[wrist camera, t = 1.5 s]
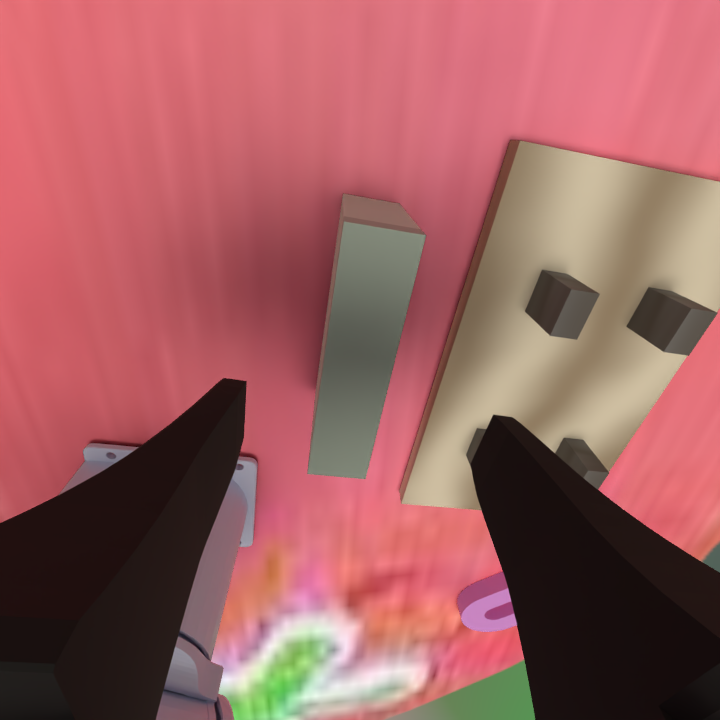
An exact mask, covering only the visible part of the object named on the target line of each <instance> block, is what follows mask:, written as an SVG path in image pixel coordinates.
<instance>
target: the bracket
mask: <svg viewBox="0 0 720 720" xmlns="http://www.w3.org/2000/svg"><path fill="white" fill-rule="evenodd" d="M457 604H458V608H459V612H460V616H461V620H462V622H463V624H464V625H465V626H466V627H468V628H470V629H472V630H476V631H482V632H492V631H499V630H504V629H507V628H510V627H513V626H516V625H517V623H516V618H515V614H514V610H513V606H512V602H511V598H510V594H509V590H508V586H507V583H506V579H505V576H504V573H503V572H500V573H498V574H495V575H493V576H491V577H488V578H486V579H483V580H481V581H478V582H476V583H474V584H471V585H470V586H468V587H467V588H465V589H464V590H463V591H462V592H461V593H460V594H459V596H458V599H457Z"/></svg>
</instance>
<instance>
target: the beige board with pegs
mask: <svg viewBox="0 0 720 720" xmlns="http://www.w3.org/2000/svg"><path fill="white" fill-rule="evenodd" d="M719 308H720V182H718V181H713V180H708V179H704V178H699V177H694V176H689V175H684V174H679V173H675V172H670V171H665V170H660V169H655V168H650V167H646V166H641V165H636V164H631V163H626V162H622V161H617V160H612V159H607V158H602V157H597V156H593V155H588V154H583V153H578V152H573V151H568V150H564V149H559V148H554V147H549V146H544V145H539V144H535V143H530V142H525V141H519V140H510V143H509V146H508V149H507V152H506V155H505V158H504V161H503V165H502V168H501V171H500V174H499V177H498V180H497V184H496V187H495V190H494V193H493V196H492V199H491V203H490V206H489V209H488V212H487V215H486V218H485V221H484V225H483V228H482V231H481V234H480V237H479V240H478V244H477V247H476V250H475V253H474V256H473V259H472V263H471V266H470V269H469V272H468V275H467V278H466V282H465V285H464V288H463V291H462V294H461V297H460V300H459V304H458V307H457V310H456V313H455V316H454V319H453V323H452V326H451V329H450V332H449V335H448V338H447V342H446V345H445V348H444V351H443V354H442V357H441V361H440V364H439V367H438V370H437V373H436V376H435V379H434V383H433V386H432V389H431V392H430V395H429V398H428V402H427V405H426V408H425V411H424V414H423V417H422V421H421V424H420V427H419V430H418V433H417V436H416V440H415V443H414V446H413V449H412V452H411V455H410V458H409V462H408V465H407V468H406V471H405V474H404V477H403V481H402V484H401V487H400V490H399V493H400V499H401V504H411V505H424V506H436V507H448V508H461V509H473V510H481V507H480V504H479V501H478V498H477V494H476V490H475V485H474V481H473V475H472V470H471V461H472V459H473V457H474V455H475V453H476V451H477V448H478V446H479V444H480V442H481V440H482V438H483V436H484V433H485V431H486V429H487V427H488V425H489V423H490V420H491V418H492V416H493V415H501V416H508V417H513V418H514V419H516V420H517V421H518V422H520V423H521V424H522V425H523V426H524V427H526V428H527V429H528V430H529V431H530V432H531V433H533V434H534V435H535V436H536V437H537V438H538V439H539V440H541V441H542V442H543V443H544V444H545V445H546V446H547V447H548V448H550V449H551V450H552V451H553V452H554V453H555V454H556V455H557V456H559V457H560V458H561V459H562V460H563V461H564V462H565V463H566V464H568V465H569V466H570V467H571V468H572V469H573V470H575V471H576V472H577V473H578V474H579V475H580V476H582V477H583V478H584V479H585V480H586V481H588V482H589V483H590V484H591V485H593V486H594V487H595V488H596V489H597V490H598V489H599V487H600V486H601V484H602V483H603V481H604V480H605V478H606V477H607V475H608V474H609V471H610V469H611V468H612V466H613V465H614V463H615V462H616V460H617V459H618V458H619V456H620V455H621V453H622V452H623V450H624V449H625V447H626V446H627V444H628V443H629V441H630V440H631V438H632V437H633V435H634V434H635V432H636V431H637V429H638V428H639V426H640V425H641V424H642V422H643V421H644V419H645V418H646V416H647V415H648V413H649V412H650V410H651V409H652V407H653V406H654V404H655V403H656V401H657V400H658V398H659V397H660V395H661V394H662V392H663V391H664V389H665V388H666V387H667V385H668V384H669V382H670V381H671V379H672V378H673V376H674V375H675V373H676V372H677V370H678V369H679V367H680V366H681V364H682V363H683V361H684V360H685V358H686V357H687V355H688V356H689V355H690V353H691V352H692V350H693V349H694V347H695V346H696V344H697V343H698V341H699V340H700V338H701V337H702V335H703V334H704V332H705V331H706V329H707V328H708V326H709V325H710V324H711V322H712V321H713V319H714V318H715V316H716V315H717V311H718V310H719Z"/></svg>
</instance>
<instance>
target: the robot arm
mask: <svg viewBox="0 0 720 720" xmlns="http://www.w3.org/2000/svg"><path fill="white" fill-rule="evenodd" d="M246 382H247V381H241V380H234V379H226V378H223V379H222V380H220V381H219V382H218V383H217V384H216V385H215V386H214V387H213V388H212V389H210V390H209V391H208V392H207V393H206V394H205V395H204V396H203V397H202V398H201V399H199V400H198V401H197V402H196V403H195V404H194V405H193V406H191V407H190V408H189V409H188V410H187V411H185V412H184V413H183V414H182V415H181V416H179V417H178V418H177V419H176V420H175V421H173V422H172V423H171V424H170V425H168V426H167V427H166V428H164V429H163V430H162V431H160V432H159V433H158V434H156V435H155V436H154V437H152V438H151V439H150V440H148V441H147V442H146V443H144V444H143V445H141V446H140V447H131V446H120V445H109V444H99V443H90V444H88V445H87V446H86V447H85V448H84V450H83V455H84V459H85V461H84V463H83V464H82V465H81V467H80V468H79V469H78V470H77V472H76V473H75V474H74V476H73V477H72V478H71V479H70V481H69V482H68V483H67V485H66V486H65V487H64V488H63V490H62V491H61V492H60V493H59V495H58V496H56V497H54V498H52V499H50V500H48V501H46V502H44V503H42V504H40V505H38V506H36V507H34V508H32V509H30V510H28V511H26V512H24V513H22V514H20V515H17V516H15V517H13V518H11V519H9V520H6V521H4V522H2V523H0V720H234V717H233V712H232V708H231V705H230V703H229V701H228V700H227V698H226V697H225V696H223V695H220V694H218V692H219V687H220V683H221V678H222V673H223V669H224V668H223V667H222V666H220V665H217V664H215V663H213V662H211V659H212V654H213V650H214V646H215V642H216V638H217V634H218V630H219V626H220V622H221V618H222V614H223V610H224V605H225V601H226V597H227V593H228V589H229V585H230V581H231V577H232V573H233V569H234V565H235V561H236V557H237V552H238V548H239V547H248V546H251V545H252V543H253V539H254V522H255V504H256V486H257V468H258V463H257V461H256V460H255V459H253V458H250V457H240V456H239V454H240V450H241V446H242V442H243V438H244V423H245V403H246ZM113 453H114V454H113ZM238 464H242V465H238ZM471 470H472V475H473V481H474V485H475V490H476V494H477V498H478V501H479V504H480V507H481V510H482V513H483V516H484V519H485V521H486V524H487V527H488V530H489V533H490V536H491V538H492V541H493V544H494V547H495V550H496V553H497V555H498V558H499V561H500V564H501V567H502V570H503V573H504V576H505V579H506V583H507V586H508V590H509V594H510V598H511V602H512V606H513V610H514V614H515V618H516V623H517V627H518V632H519V636H520V641H521V646H522V650H523V655H524V660H525V664H526V670H527V675H528V680H529V686H530V691H531V696H532V702H533V708H534V713H535V720H720V573H719V572H718V571H716V570H714V569H713V568H711V567H709V566H708V565H706V564H704V563H703V562H701V561H699V560H698V559H696V558H694V557H693V556H691V555H690V554H688V553H686V552H685V551H683V550H682V549H680V548H679V547H677V546H675V545H674V544H672V543H671V542H669V541H668V540H666V539H665V538H663V537H662V536H660V535H659V534H657V533H656V532H654V531H653V530H651V529H650V528H648V527H647V526H645V525H644V524H643V523H641V522H640V521H638V520H637V519H636V518H634V517H633V516H631V515H630V514H629V513H627V512H626V511H624V510H623V509H622V508H620V507H619V506H618V505H616V504H615V503H614V502H613V501H611V500H610V499H609V498H607V497H606V496H605V495H604V494H602V493H601V492H600V491H599V490H597V489H596V488H595V487H594V486H593V485H591V484H590V483H589V482H588V481H586V480H585V479H584V478H583V477H582V476H580V475H579V474H578V473H577V472H576V471H575V470H573V469H572V468H571V467H570V466H569V465H568V464H566V463H565V462H564V461H563V460H562V459H561V458H560V457H559V456H557V455H556V454H555V453H554V452H553V451H552V450H551V449H550V448H548V447H547V446H546V445H545V444H544V443H543V442H542V441H541V440H539V439H538V438H537V437H536V436H535V435H534V434H533V433H531V432H530V431H529V430H528V429H527V428H526V427H524V426H523V425H522V424H521V423H520V422H518V421H517V420H516V419H514V418H513V417H508V416H501V415H493V416H492V418H491V420H490V423H489V425H488V427H487V429H486V431H485V433H484V436H483V438H482V440H481V442H480V444H479V446H478V448H477V451H476V453H475V455H474V457H473V459H472V461H471Z"/></svg>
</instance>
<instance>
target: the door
mask: <svg viewBox="0 0 720 720" xmlns="http://www.w3.org/2000/svg"><path fill="white" fill-rule="evenodd" d="M425 238H426V235H425V234H424V232H423V231H422V230H421V229H420V228H419V226H418V225H417V224H416V223H415V222H414V220H413V219H412V218H411V217H410V216H409V214H408V213H407V212H406V211H405V210H404V208H403V207H402V206H401V205H400V204H399V203H394V202H388V201H383V200H377V199H372V198H366V197H360V196H355V195H349V194H344V193H343V197H342V204H341V211H340V218H339V226H338V233H337V240H336V247H335V254H334V262H333V269H332V276H331V283H330V291H329V298H328V305H327V312H326V320H325V327H324V334H323V341H322V348H321V356H320V363H319V370H318V377H317V385H316V392H315V402H314V412H313V423H312V433H311V443H310V453H309V463H308V473H307V474H314V475H325V476H336V477H348V478H359V479H365V478H366V474H367V470H368V466H369V462H370V458H371V454H372V450H373V446H374V442H375V438H376V434H377V430H378V426H379V422H380V418H381V414H382V410H383V406H384V402H385V398H386V394H387V390H388V386H389V382H390V378H391V374H392V370H393V366H394V362H395V358H396V354H397V350H398V346H399V342H400V338H401V334H402V330H403V326H404V322H405V318H406V314H407V310H408V306H409V302H410V298H411V294H412V290H413V286H414V282H415V278H416V274H417V270H418V266H419V262H420V258H421V254H422V250H423V246H424V242H425Z"/></svg>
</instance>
